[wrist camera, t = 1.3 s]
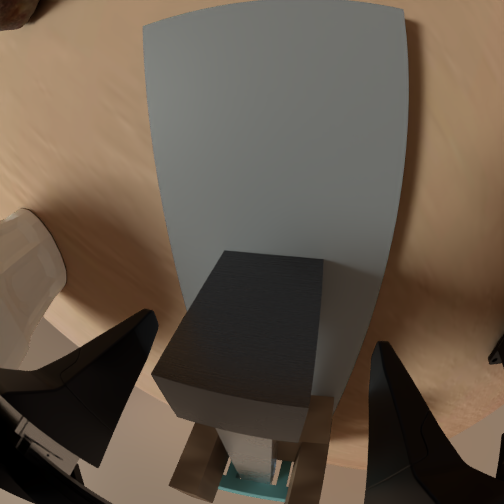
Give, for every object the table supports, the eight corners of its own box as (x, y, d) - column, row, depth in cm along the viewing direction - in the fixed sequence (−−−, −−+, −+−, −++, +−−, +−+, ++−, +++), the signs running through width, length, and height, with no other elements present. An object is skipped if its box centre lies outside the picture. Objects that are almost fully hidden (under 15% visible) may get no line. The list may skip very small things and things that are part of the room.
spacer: (313, 453, 18) (303, 501, 14) (309, 460, 20) (300, 503, 16) (219, 437, 20) (202, 481, 16) (223, 446, 22) (209, 486, 18)
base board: (397, 15, 6) (403, 9, 5) (319, 435, 23) (318, 443, 23) (155, 29, 8) (142, 26, 8) (227, 420, 26) (225, 428, 25)
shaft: (323, 259, 11) (308, 408, 6) (291, 441, 24) (278, 497, 18) (224, 250, 12) (150, 373, 7) (250, 435, 25) (234, 489, 19)
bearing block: (335, 385, 18) (315, 517, 9) (322, 417, 21) (304, 519, 13) (217, 368, 20) (168, 485, 12) (226, 402, 23) (191, 496, 15)
